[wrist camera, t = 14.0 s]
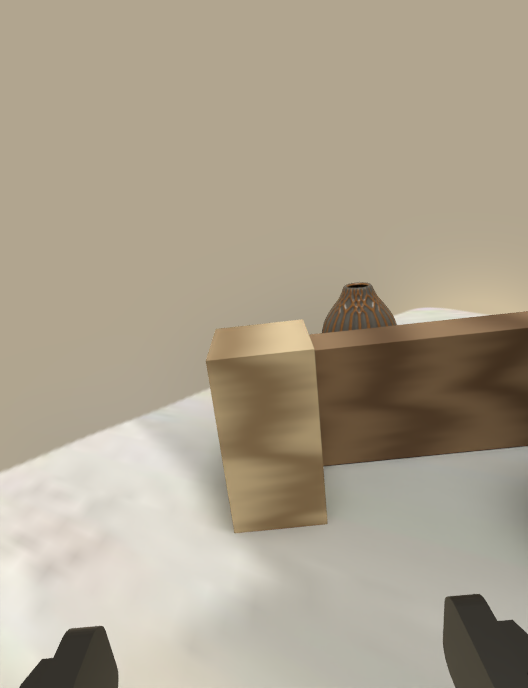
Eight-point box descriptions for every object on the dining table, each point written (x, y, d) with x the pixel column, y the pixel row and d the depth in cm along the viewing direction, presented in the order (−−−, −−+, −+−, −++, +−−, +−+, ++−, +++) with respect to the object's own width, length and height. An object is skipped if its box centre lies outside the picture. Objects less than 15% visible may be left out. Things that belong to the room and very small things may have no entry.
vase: (309, 384, 39) (302, 292, 36) (345, 359, 44) (341, 276, 41) (379, 400, 35) (377, 296, 32) (411, 369, 40) (411, 278, 37)
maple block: (314, 467, 27) (302, 319, 24) (327, 524, 22) (314, 349, 19) (238, 475, 27) (215, 329, 24) (234, 533, 22) (205, 360, 19)
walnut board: (520, 420, 30) (532, 310, 27) (548, 443, 27) (564, 323, 24) (240, 448, 30) (224, 343, 27) (238, 474, 27) (220, 360, 25)
